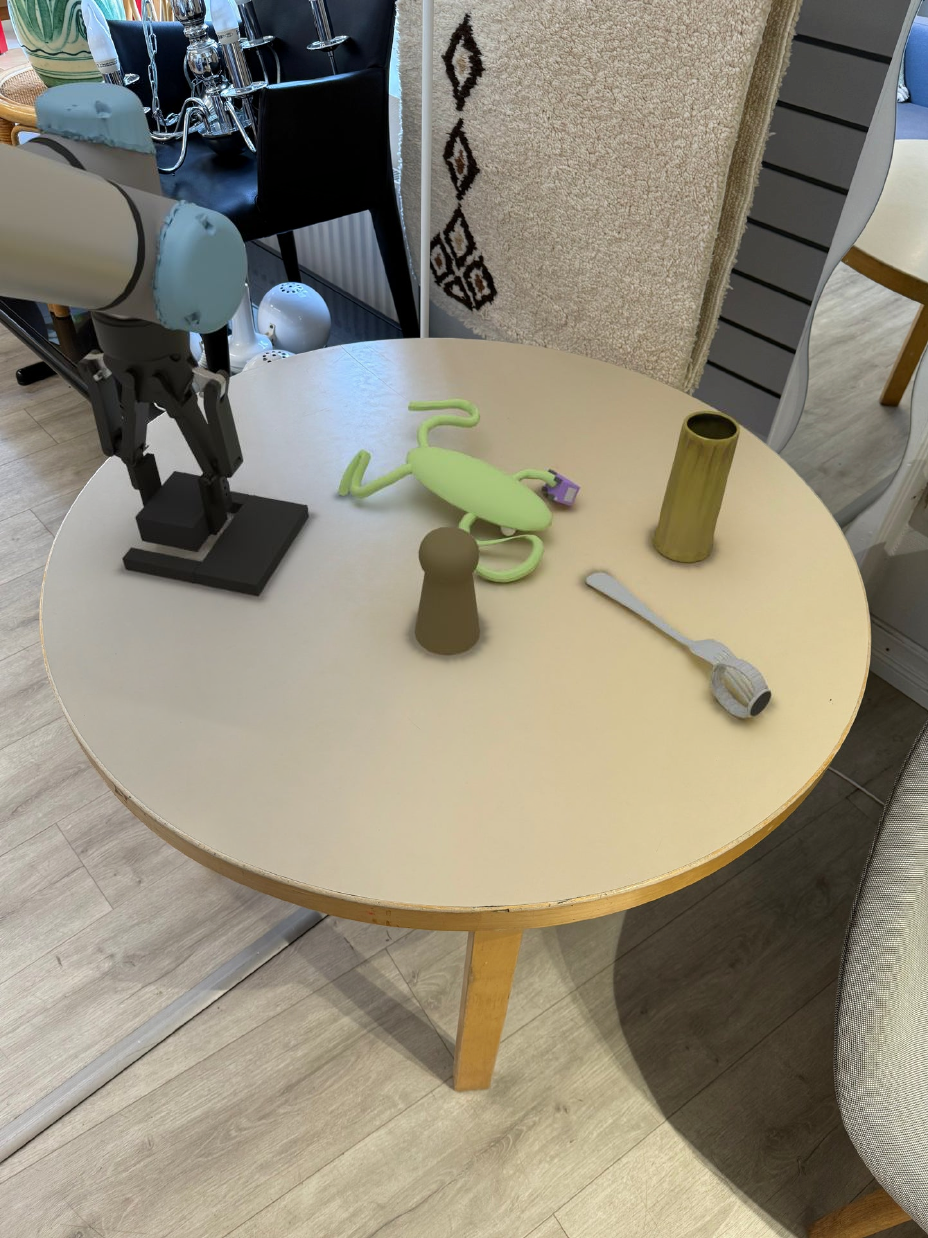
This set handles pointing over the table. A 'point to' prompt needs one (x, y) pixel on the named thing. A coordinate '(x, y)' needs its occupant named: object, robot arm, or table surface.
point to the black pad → (234, 548)
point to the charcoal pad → (176, 514)
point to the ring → (756, 679)
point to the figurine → (471, 486)
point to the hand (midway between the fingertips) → (188, 520)
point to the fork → (701, 648)
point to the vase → (696, 486)
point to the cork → (448, 592)
